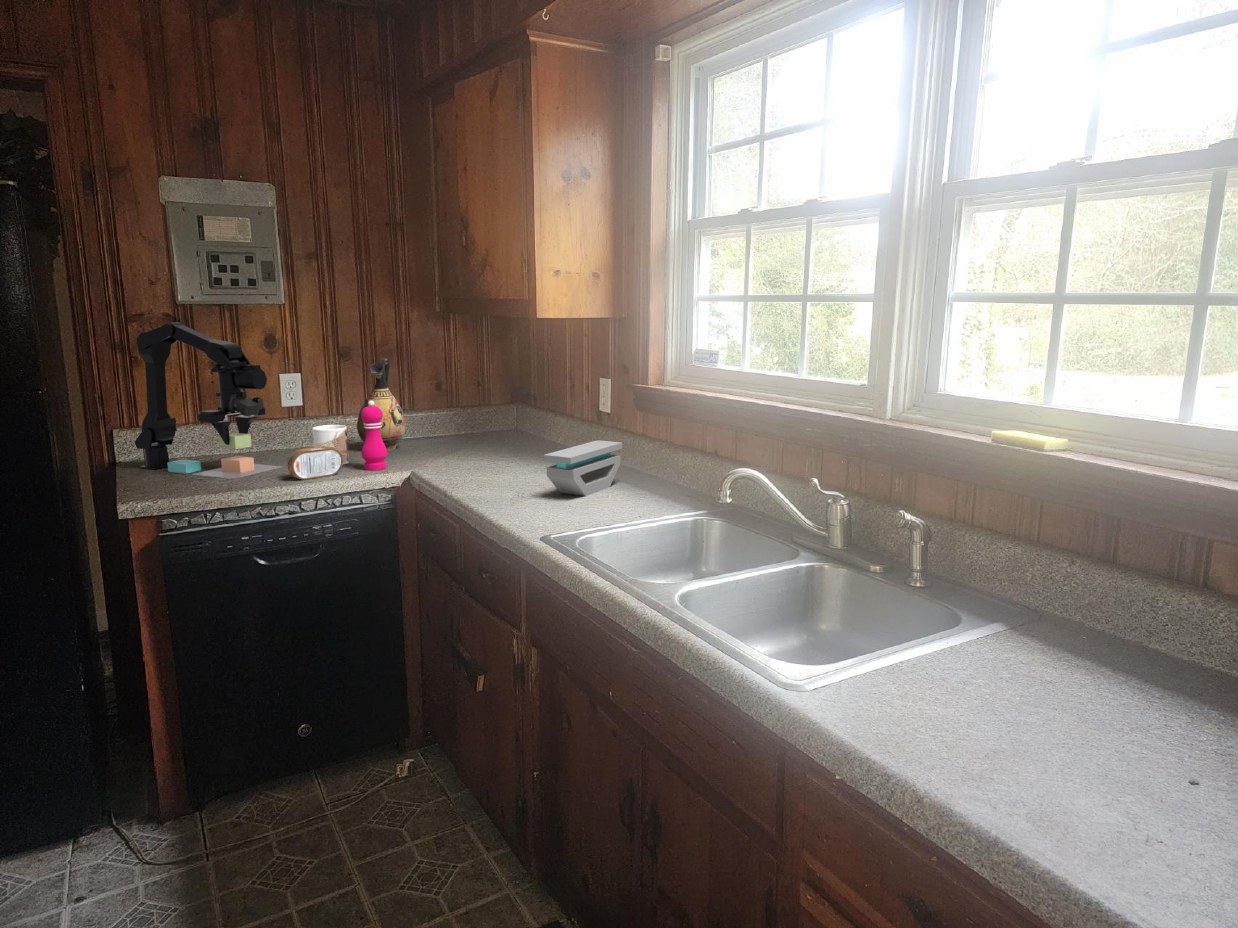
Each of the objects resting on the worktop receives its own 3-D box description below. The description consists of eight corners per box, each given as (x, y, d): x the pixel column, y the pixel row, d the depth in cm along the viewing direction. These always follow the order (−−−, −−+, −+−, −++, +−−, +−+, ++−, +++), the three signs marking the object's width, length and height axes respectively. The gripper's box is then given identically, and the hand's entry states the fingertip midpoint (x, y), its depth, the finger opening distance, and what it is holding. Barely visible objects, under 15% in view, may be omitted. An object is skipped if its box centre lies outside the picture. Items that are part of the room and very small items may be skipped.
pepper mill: (380, 471, 232) (376, 402, 228) (357, 470, 234) (353, 401, 230) (392, 466, 239) (388, 399, 235) (370, 465, 241) (365, 398, 237)
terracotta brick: (222, 471, 230) (220, 459, 230) (236, 467, 235) (235, 456, 234) (240, 472, 228) (239, 460, 227) (254, 469, 232) (253, 457, 232)
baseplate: (191, 476, 226) (191, 474, 226) (242, 464, 242) (242, 462, 242) (234, 480, 220) (233, 478, 220) (283, 468, 237) (283, 466, 236)
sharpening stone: (597, 479, 221) (597, 440, 218) (622, 482, 217) (622, 442, 215) (544, 498, 199) (543, 454, 197) (571, 501, 195) (570, 457, 193)
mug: (305, 464, 242) (303, 428, 240) (333, 457, 253) (331, 423, 251) (333, 467, 238) (331, 430, 236) (360, 460, 249) (358, 424, 247)
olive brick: (220, 446, 230) (218, 434, 229) (235, 444, 234) (234, 432, 233) (235, 449, 226) (234, 436, 225) (251, 446, 230) (250, 434, 230)
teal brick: (168, 474, 230) (167, 462, 229) (183, 471, 235) (182, 459, 234) (186, 476, 228) (185, 464, 227) (201, 472, 232) (200, 461, 232)
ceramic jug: (399, 453, 260) (394, 360, 255) (352, 453, 261) (345, 360, 255) (413, 444, 277) (408, 356, 271) (368, 444, 277) (363, 356, 272)
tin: (340, 472, 231) (338, 443, 229) (345, 474, 229) (343, 445, 227) (288, 480, 220) (285, 450, 219) (293, 482, 218) (290, 452, 217)
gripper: (224, 392, 215) (229, 450, 218) (277, 386, 232) (282, 439, 235) (194, 391, 219) (199, 447, 222) (248, 385, 236) (253, 437, 239)
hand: (235, 443), depth 230 cm, fingers closed on olive brick, 5 cm apart
